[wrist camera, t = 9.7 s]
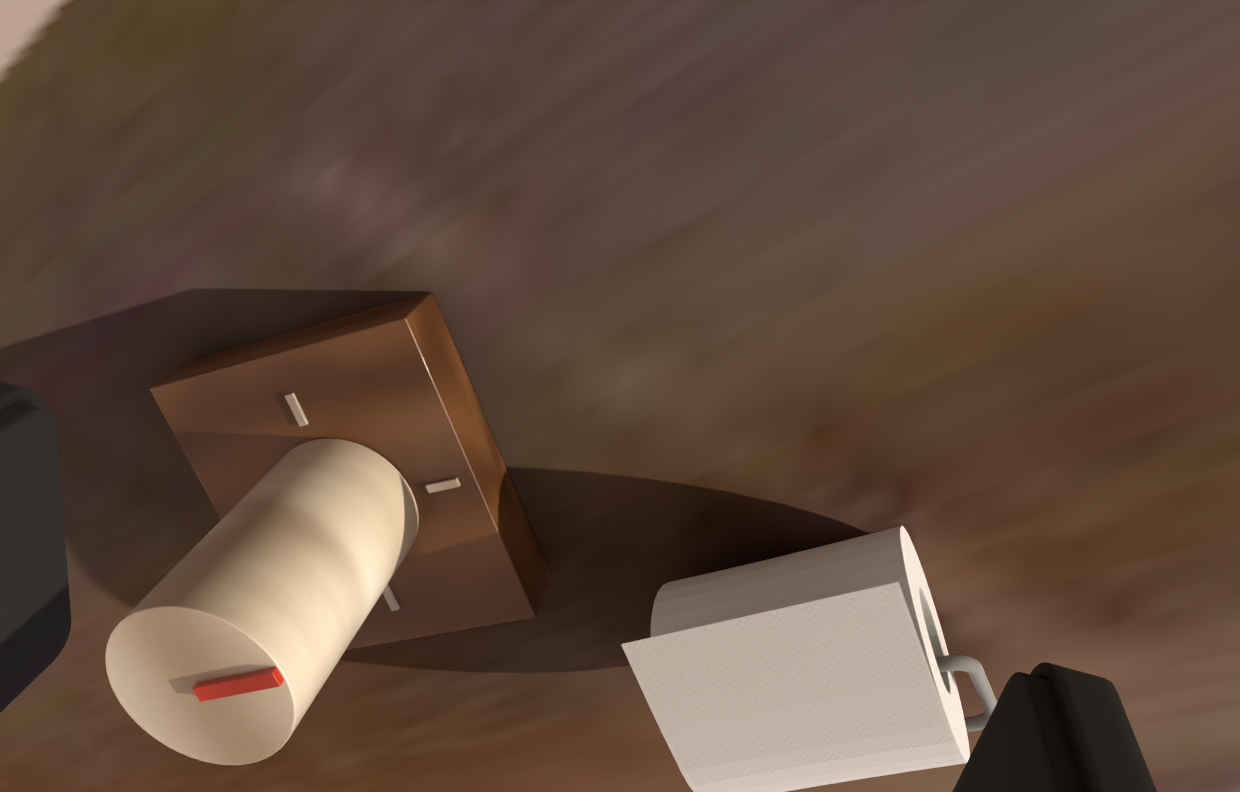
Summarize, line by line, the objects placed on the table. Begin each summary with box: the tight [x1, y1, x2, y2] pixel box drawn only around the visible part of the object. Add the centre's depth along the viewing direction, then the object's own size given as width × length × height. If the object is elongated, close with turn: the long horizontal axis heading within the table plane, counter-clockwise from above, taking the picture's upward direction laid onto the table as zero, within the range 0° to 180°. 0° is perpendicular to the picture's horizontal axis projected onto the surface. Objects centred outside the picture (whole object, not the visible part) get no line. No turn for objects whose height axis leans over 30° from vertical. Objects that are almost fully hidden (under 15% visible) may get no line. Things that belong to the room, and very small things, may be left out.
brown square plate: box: [150, 292, 551, 650], centre depth 42 cm, size 14×12×3 cm
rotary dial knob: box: [105, 438, 419, 765], centre depth 36 cm, size 6×6×11 cm
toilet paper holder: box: [621, 526, 997, 792], centre depth 39 cm, size 12×9×15 cm
